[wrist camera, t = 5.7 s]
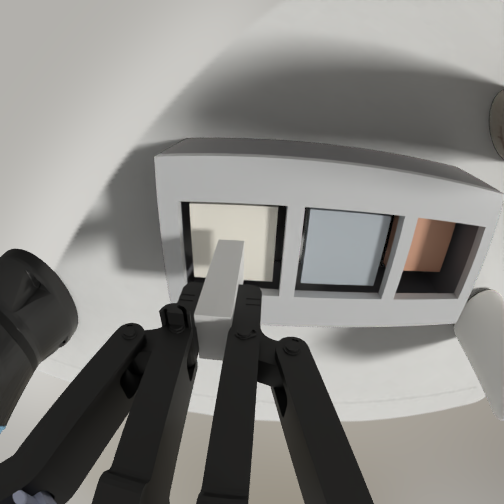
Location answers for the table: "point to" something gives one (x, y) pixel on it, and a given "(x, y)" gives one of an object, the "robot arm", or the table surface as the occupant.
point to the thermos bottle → (497, 123)
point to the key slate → (342, 246)
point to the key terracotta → (425, 244)
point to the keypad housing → (341, 198)
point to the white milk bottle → (485, 344)
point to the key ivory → (235, 235)
